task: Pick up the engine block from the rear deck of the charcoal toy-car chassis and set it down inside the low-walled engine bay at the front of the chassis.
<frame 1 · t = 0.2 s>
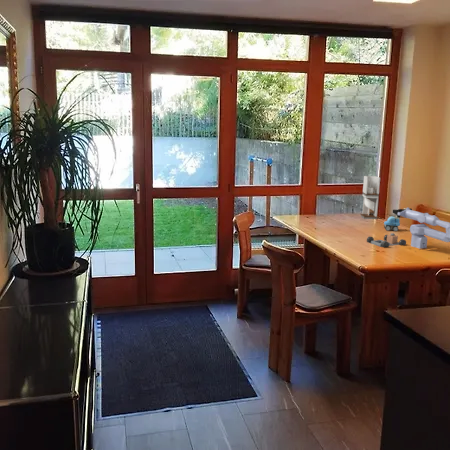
hand: (397, 210, 332), 21 cm above the table, tool horizontal, fingers open, 7 cm apart
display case: (368, 217, 416), on the table
chassis: (385, 244, 325), on the table
engine block: (391, 242, 327), point 1 cm above the table, touching chassis
toy excavator: (394, 230, 369), on the table
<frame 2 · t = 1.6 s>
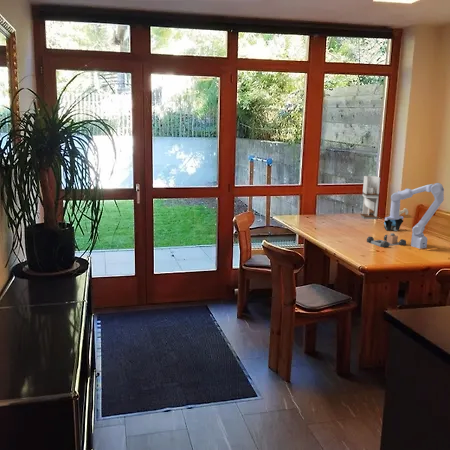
hand: (392, 230, 325), 9 cm above the table, tool pointing down, fingers open, 7 cm apart
nothing on the table moved.
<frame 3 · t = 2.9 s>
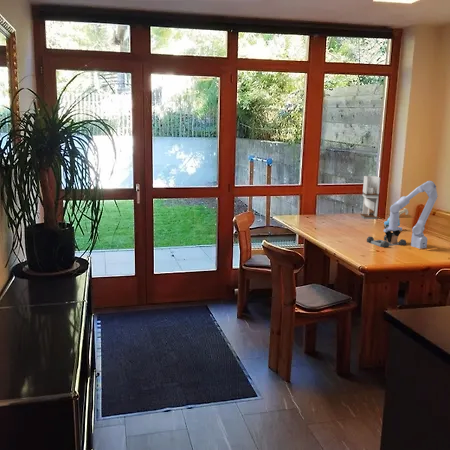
hand: (391, 241, 326), 2 cm above the table, tool pointing down, fingers closed on engine block, 4 cm apart
engine block: (391, 242, 327), point 1 cm above the table, touching chassis, gripper
everything else where it was.
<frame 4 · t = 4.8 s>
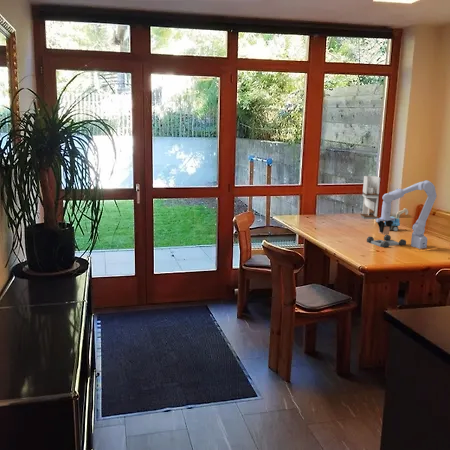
hand: (384, 231, 322), 9 cm above the table, tool pointing down, fingers closed on engine block, 4 cm apart
engine block: (383, 233, 322), point 8 cm above the table, touching gripper
everything else where it was.
when the fingers open (3 cm above the table, at t = 6.5 s): engine block drops 1 cm, resting on chassis.
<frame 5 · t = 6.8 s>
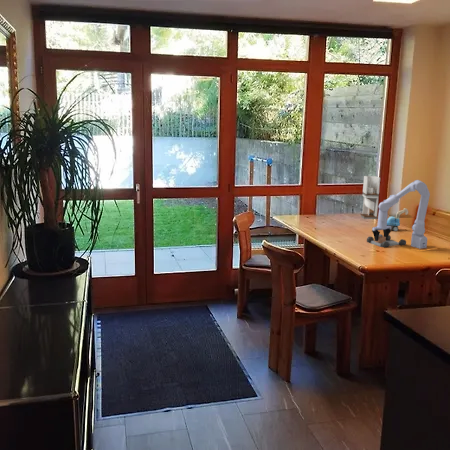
hand: (380, 240, 322), 3 cm above the table, tool pointing down, fingers open, 7 cm apart
engine block: (379, 243, 323), point 1 cm above the table, touching chassis
everything else where it was.
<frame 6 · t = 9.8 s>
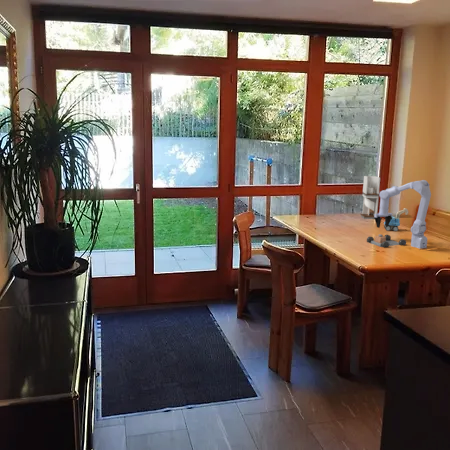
hand: (382, 227, 335), 9 cm above the table, tool pointing down, fingers open, 7 cm apart
nothing on the table moved.
at the end: engine block 0.4 cm from the target spot on the chassis, point 1.0 cm above the chassis's base; engine block tilted 0°; the gripper is holding nothing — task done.
